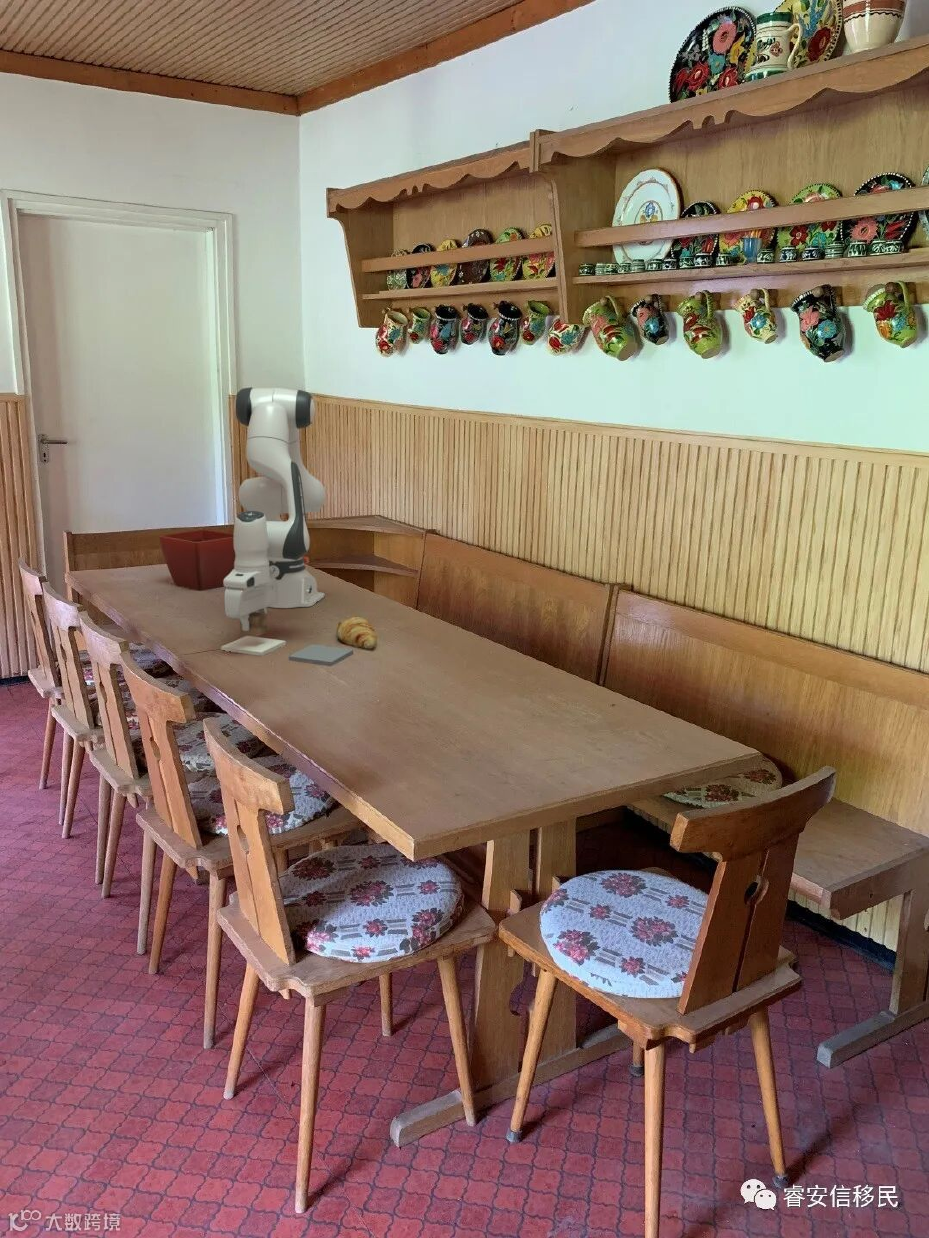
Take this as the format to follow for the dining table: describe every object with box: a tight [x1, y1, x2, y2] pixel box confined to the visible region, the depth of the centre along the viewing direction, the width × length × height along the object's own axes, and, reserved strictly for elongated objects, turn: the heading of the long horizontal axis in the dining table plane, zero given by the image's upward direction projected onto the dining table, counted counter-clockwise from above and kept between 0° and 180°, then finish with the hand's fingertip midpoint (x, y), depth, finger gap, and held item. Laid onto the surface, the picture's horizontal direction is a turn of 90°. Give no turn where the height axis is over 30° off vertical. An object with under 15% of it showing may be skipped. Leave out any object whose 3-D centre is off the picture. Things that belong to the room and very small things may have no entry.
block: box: [239, 611, 268, 637], centre depth 263 cm, size 5×5×5 cm
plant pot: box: [159, 529, 236, 591], centre depth 332 cm, size 19×19×17 cm
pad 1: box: [220, 635, 287, 657], centre depth 264 cm, size 12×12×1 cm
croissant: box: [336, 615, 378, 650], centre depth 272 cm, size 21×10×8 cm, turn 31°
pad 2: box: [288, 643, 354, 667], centre depth 257 cm, size 12×12×1 cm
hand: (253, 627), depth 263 cm, fingers closed on block, 5 cm apart
